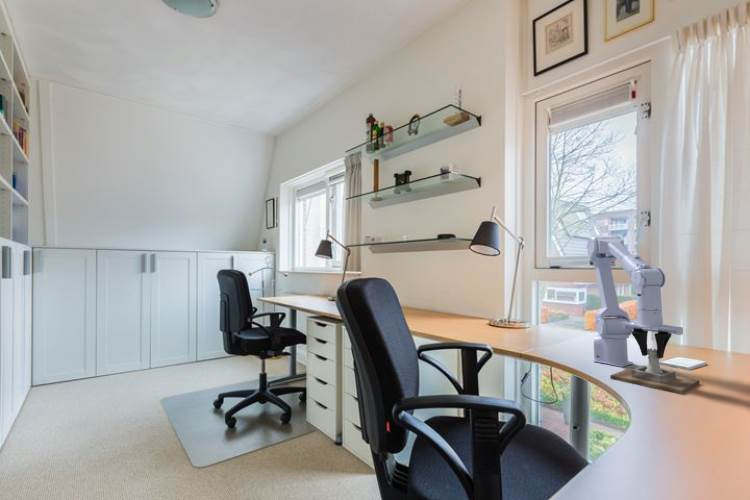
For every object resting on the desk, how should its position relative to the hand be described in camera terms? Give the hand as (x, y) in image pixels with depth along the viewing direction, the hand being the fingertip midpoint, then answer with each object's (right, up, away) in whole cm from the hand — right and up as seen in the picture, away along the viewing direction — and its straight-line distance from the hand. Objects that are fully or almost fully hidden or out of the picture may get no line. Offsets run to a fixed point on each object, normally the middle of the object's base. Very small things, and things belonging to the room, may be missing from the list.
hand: (652, 356), depth 107 cm
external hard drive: (+22, -8, +16) cm, 29 cm away
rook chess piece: (+1, -6, 0) cm, 6 cm away
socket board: (0, -7, 0) cm, 7 cm away
